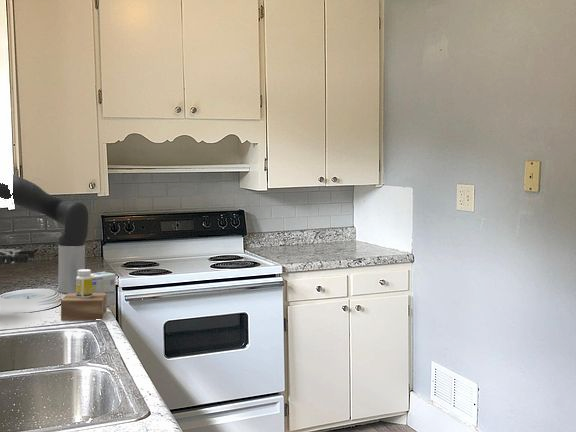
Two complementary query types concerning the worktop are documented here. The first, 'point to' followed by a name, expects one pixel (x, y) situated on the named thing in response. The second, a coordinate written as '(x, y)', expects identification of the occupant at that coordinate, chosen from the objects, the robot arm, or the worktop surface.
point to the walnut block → (83, 307)
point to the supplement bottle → (84, 284)
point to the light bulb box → (104, 285)
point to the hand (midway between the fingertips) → (31, 256)
